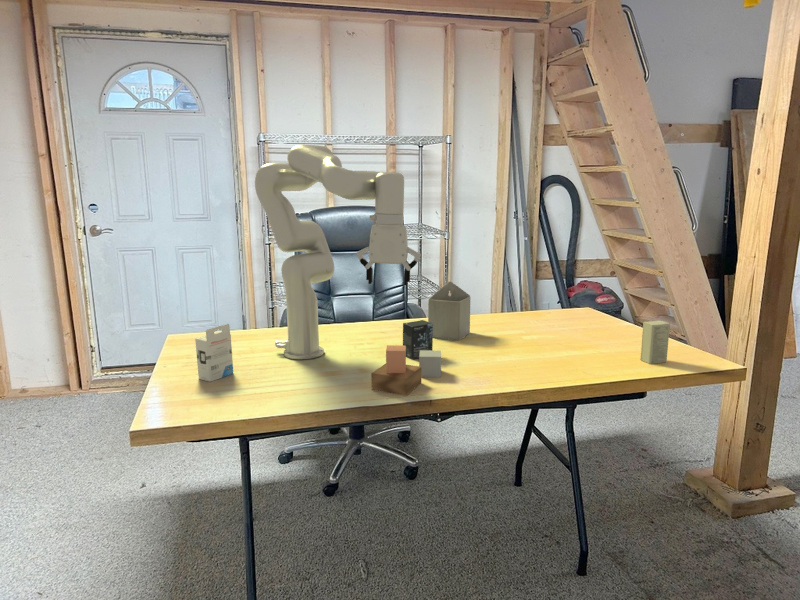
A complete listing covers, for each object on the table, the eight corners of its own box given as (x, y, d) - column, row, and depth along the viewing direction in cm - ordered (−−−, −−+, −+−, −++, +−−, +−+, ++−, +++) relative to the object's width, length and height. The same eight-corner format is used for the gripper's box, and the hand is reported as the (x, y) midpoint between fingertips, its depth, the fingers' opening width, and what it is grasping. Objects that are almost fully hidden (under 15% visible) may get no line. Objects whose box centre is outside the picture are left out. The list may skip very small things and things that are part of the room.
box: (412, 360, 172) (412, 326, 170) (402, 355, 177) (402, 322, 175) (433, 355, 176) (433, 322, 174) (422, 351, 181) (422, 319, 179)
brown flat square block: (371, 391, 147) (371, 373, 146) (387, 379, 156) (387, 362, 155) (406, 396, 143) (406, 378, 142) (421, 384, 152) (421, 366, 151)
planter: (437, 342, 191) (437, 286, 187) (427, 336, 198) (428, 282, 194) (479, 337, 197) (480, 283, 193) (469, 332, 204) (470, 279, 200)
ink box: (222, 370, 163) (218, 321, 160) (234, 373, 161) (230, 323, 158) (197, 379, 156) (193, 327, 153) (209, 382, 153) (205, 329, 150)
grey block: (419, 377, 157) (419, 356, 156) (419, 370, 163) (419, 350, 162) (440, 377, 157) (441, 356, 155) (440, 370, 162) (440, 350, 161)
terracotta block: (386, 373, 146) (385, 350, 145) (387, 367, 151) (386, 345, 150) (405, 373, 146) (405, 350, 145) (405, 367, 151) (405, 345, 150)
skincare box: (657, 358, 172) (660, 319, 170) (667, 362, 168) (671, 323, 166) (639, 360, 171) (642, 321, 168) (649, 364, 167) (652, 324, 164)
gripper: (354, 220, 146) (354, 285, 150) (421, 222, 145) (419, 287, 148) (359, 218, 153) (358, 280, 157) (422, 220, 152) (420, 282, 156)
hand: (388, 283), depth 153 cm, fingers open, 9 cm apart
